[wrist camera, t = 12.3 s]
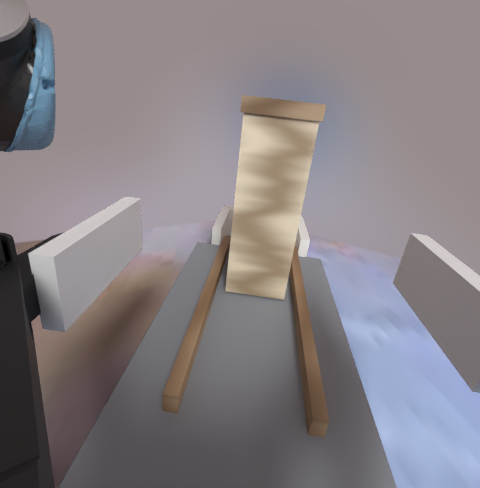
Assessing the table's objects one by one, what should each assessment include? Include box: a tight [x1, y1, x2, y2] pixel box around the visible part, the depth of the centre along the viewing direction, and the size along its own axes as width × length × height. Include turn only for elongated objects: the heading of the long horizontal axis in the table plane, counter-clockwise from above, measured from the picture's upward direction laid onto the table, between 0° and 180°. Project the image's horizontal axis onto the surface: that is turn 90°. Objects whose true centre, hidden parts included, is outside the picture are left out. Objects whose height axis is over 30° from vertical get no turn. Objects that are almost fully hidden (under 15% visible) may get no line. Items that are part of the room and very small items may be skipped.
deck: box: [58, 242, 396, 488], centre depth 23 cm, size 14×26×2 cm, turn 174°
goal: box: [212, 206, 310, 257], centre depth 39 cm, size 11×9×4 cm
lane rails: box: [162, 236, 329, 437], centre depth 25 cm, size 8×21×1 cm, turn 174°
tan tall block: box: [225, 95, 326, 300], centre depth 26 cm, size 5×8×15 cm, turn 174°
